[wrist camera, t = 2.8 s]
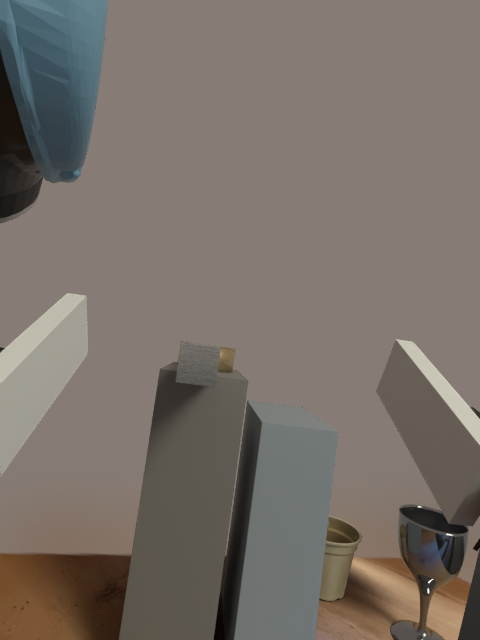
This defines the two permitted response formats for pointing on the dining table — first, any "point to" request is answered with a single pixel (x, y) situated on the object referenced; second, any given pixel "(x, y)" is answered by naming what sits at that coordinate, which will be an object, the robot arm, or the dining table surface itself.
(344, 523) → the flower pot
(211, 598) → the tall stand
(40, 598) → the dining table surface
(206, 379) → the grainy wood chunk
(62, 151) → the robot arm
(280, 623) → the short stand
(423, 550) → the wine glass
